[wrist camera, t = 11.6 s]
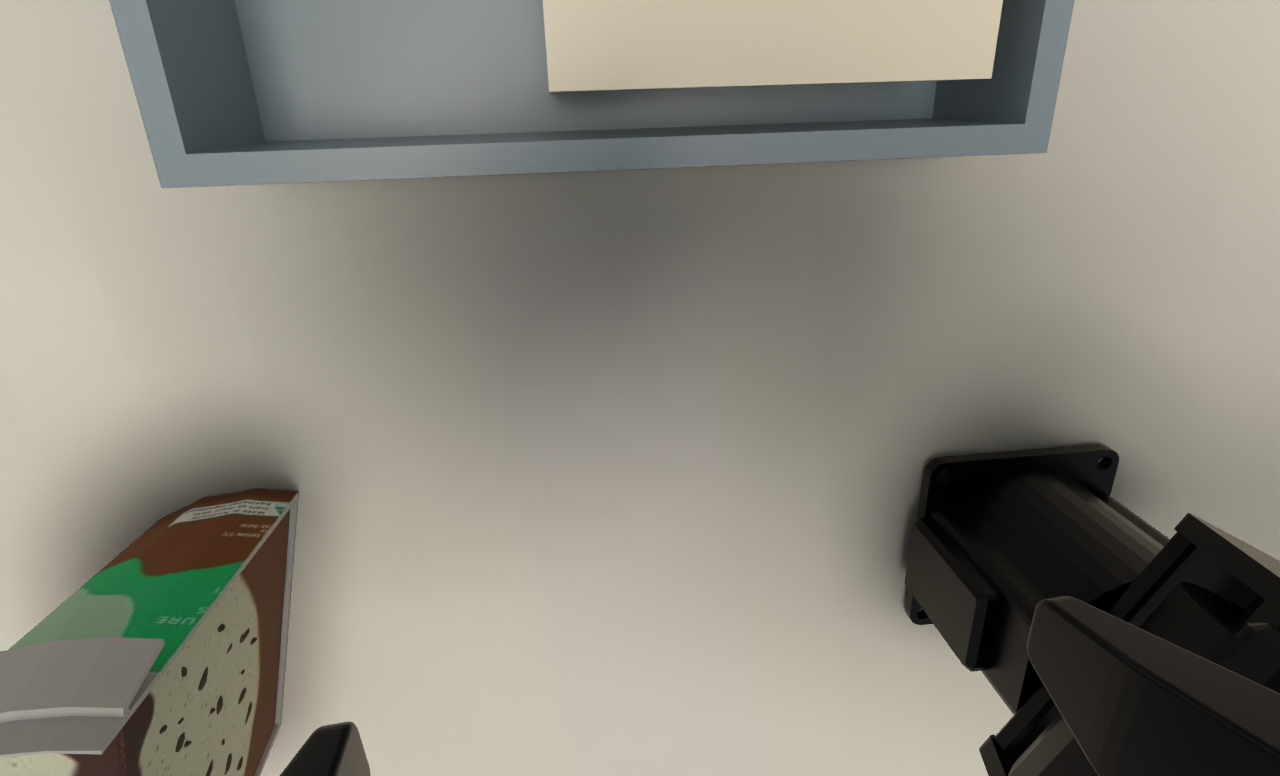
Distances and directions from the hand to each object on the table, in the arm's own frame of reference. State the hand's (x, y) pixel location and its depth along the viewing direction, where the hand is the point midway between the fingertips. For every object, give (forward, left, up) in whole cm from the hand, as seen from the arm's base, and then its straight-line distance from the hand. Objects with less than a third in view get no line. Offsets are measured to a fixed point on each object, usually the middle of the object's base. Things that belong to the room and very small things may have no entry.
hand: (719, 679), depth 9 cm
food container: (+14, +7, -13) cm, 20 cm away
